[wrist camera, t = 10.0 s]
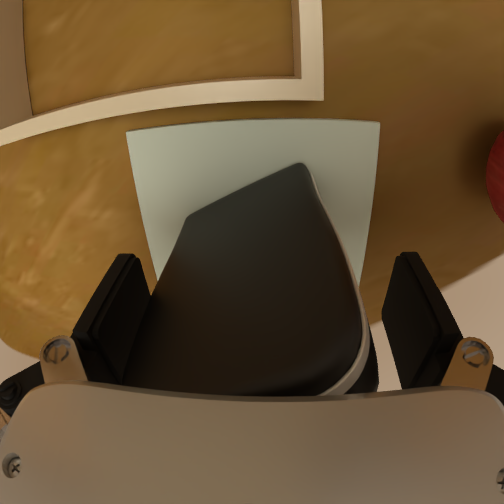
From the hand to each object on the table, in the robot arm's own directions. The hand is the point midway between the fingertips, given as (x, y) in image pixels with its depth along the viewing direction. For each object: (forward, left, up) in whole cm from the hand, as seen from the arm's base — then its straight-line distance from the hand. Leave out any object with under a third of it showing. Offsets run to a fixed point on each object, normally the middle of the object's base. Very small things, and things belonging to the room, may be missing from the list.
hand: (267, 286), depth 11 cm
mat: (+1, 0, -6) cm, 6 cm away
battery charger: (0, 0, -6) cm, 6 cm away
